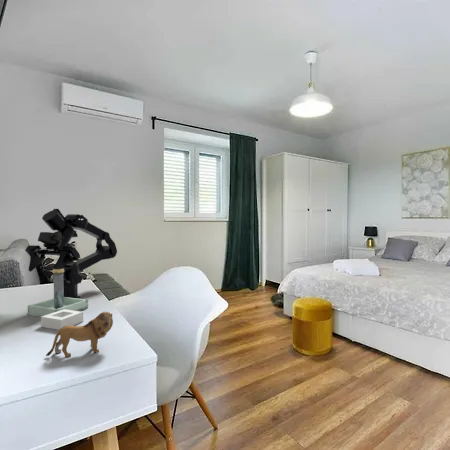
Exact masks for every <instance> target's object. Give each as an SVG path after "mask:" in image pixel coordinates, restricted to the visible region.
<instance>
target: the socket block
mask: <svg viewBox="0 0 450 450" xmlns="http://www.w3.org/2000/svg"><path fill="white" fill-rule="evenodd" d="M83 322H84V311H73V310H66V309H63V310H60V311H57V312H54V313H51V314H48V315H45V316H42V317H40V327H41V328H47V329H53V330H56V331H58V330H59V329H60V328H62V327H64V326H68V325H72V326H75V325H78V324H81V323H83Z"/></svg>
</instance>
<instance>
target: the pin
mask: <svg viewBox="0 0 450 450" xmlns="http://www.w3.org/2000/svg"><path fill="white" fill-rule="evenodd" d="M52 270H53V271H52V274H53V273H54V278H53V299H54V309H58V308H62V307H64V281H63V273H64V268H57V269H53V268H52Z"/></svg>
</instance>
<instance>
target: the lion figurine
mask: <svg viewBox="0 0 450 450" xmlns="http://www.w3.org/2000/svg"><path fill="white" fill-rule="evenodd" d="M113 323H114V319H113V313H111V312H109V311H102V312H100V313H99V314H98V315H97V316H96V317H94V318H93V319H91V320H89V322H88V323H86V324H84V325H76V326H75V325H73V326H72V325H68V326H64V327H62V328H60V329H59V330H57V332H56V334H55V336H54V339H53V343H52V347H51V349H50V351H48V352H47V353H46V354H45V357H48V356H50V355H51V354H52V353H53V351H54V353H56V354H60V353H63V355H64V357H65V358H70V357H71V356H72V353H71V352H68V351H67V349H68V345H69V343H70V339H72V340H73V341H76V342H87V341H90V349H91V350H92V352H93V353H94V352H98V353H99V352H100V349H98V342H99V340H100V339H104V338H105V336H107V334H108V332H110V330H111V329H112V327H113ZM60 346H62V347H61V349H60Z"/></svg>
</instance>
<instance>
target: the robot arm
mask: <svg viewBox="0 0 450 450" xmlns="http://www.w3.org/2000/svg"><path fill="white" fill-rule="evenodd" d="M42 221H43V222H44V223H45V224H46V225H47V226H48V228H50V230H52V231H53V232H51V231H49V232H47V231H40V232H39V235H38V239H37V241H38V242H41V243H42V244H43V247H44V248H42V247H41V246H40V245H33V244H32V245H27V246H26V248H25V250H24V251H25V252H26V253H27V254H28V255H29V265H28V271H29V272H30V273H31V272H32V271H33V270H35V269H36V267H38V266H39V265H40V264H41V263H42V261H43V259H44V258H45V257H46V256H47V255H48V256H53V257H54V256H55V257H57V256H58V258H57V260H56V262H55V264H54V265H53V268H52V270H51V271H52V277H53V279H54V273H53V269H57V268H64V273H63V281H64V297H69V298H77V299H80V298H81V295H78V292H79V291H78V286H79V284H81V283H82V280H83V277H82V275H80V273H81V272H82V271H84V270H86V269H87V268H90V267H92V266H94V265H95V264H97V263H99V262H101V261H104V260H110V259H114V258H115V257H116V256H117V253H118V249H117V246H116V243H115V241H114V240H113V239H112V238H111V234H110V233H109V232H108V231H105V230H103V229H101V228H100V227H98V226H97V225H94V224H92V223H91V222H89V220H88V218H87V217H85V216H84V215H83V214H80V213H77V214H76V213H74V214H69V213H68V214H67V215H65V216H64V215H63V214H62V212H61V210H60V209H59V208H53V210H50V211H48V212H46V213H44V215H42ZM77 230H78V231H81V232H84V233H85V234H86V235H87V234H88V235H89V236H91V237H93V238H96V243H95V244H96V245H95V248H96V249H95V251H94V252H93V253H91V254H89V255H86V256H84V257H83V258H80V255H81V254H80V253H79V251H78V250H77V248H76V247H75V246H74V245H70V241H71V240H72V238H78V237H79V236H78V233H77ZM103 241H105V243H106V244H107V245H103V243H102V242H103ZM79 258H80V259H79Z"/></svg>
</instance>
